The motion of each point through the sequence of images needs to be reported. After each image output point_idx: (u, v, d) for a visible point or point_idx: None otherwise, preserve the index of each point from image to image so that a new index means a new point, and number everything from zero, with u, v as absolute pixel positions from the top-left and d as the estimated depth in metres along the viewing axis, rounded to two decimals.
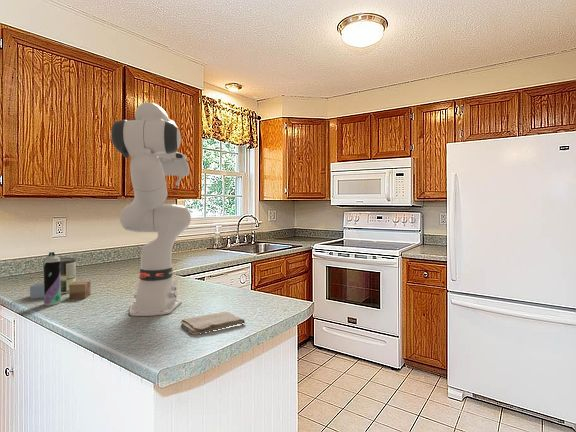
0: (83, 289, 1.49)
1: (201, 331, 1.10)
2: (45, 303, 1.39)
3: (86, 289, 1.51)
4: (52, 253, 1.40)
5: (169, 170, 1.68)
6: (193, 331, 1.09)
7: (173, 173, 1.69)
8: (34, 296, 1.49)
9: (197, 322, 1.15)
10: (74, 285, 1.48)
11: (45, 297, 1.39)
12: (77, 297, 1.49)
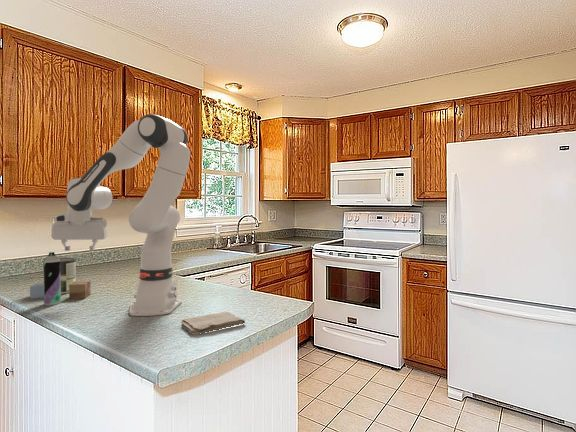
0: (83, 289, 1.49)
1: (201, 331, 1.10)
2: (45, 303, 1.39)
3: (86, 289, 1.51)
4: (52, 253, 1.40)
5: None
6: (193, 331, 1.09)
7: None
8: (34, 296, 1.49)
9: (197, 322, 1.15)
10: (74, 285, 1.48)
11: (45, 297, 1.39)
12: (77, 297, 1.49)
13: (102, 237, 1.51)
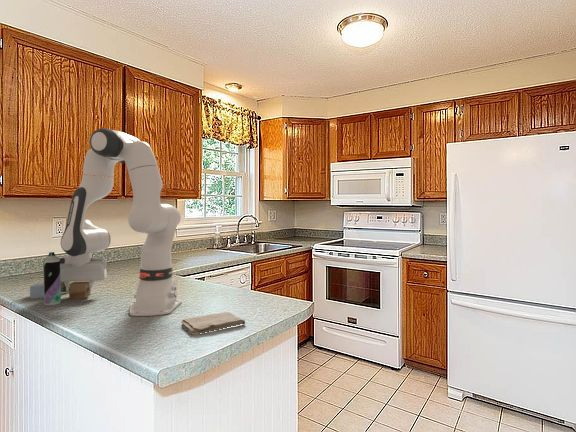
0: (83, 289, 1.49)
1: (201, 331, 1.10)
2: (45, 303, 1.39)
3: (86, 289, 1.51)
4: (52, 253, 1.40)
5: None
6: (192, 331, 1.09)
7: None
8: (34, 296, 1.49)
9: (197, 322, 1.15)
10: (74, 285, 1.48)
11: (45, 297, 1.39)
12: (77, 297, 1.49)
13: (102, 278, 1.51)
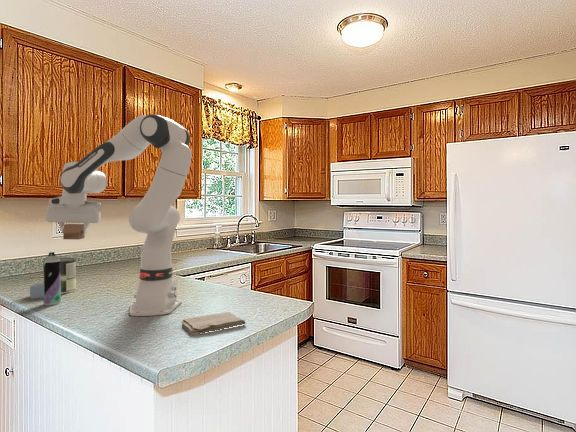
0: (77, 230, 1.50)
1: (200, 331, 1.10)
2: (45, 303, 1.39)
3: (80, 231, 1.52)
4: (52, 253, 1.40)
5: None
6: (192, 331, 1.09)
7: None
8: (34, 296, 1.49)
9: (197, 322, 1.15)
10: (68, 225, 1.50)
11: (45, 297, 1.39)
12: (71, 238, 1.50)
13: (96, 221, 1.53)
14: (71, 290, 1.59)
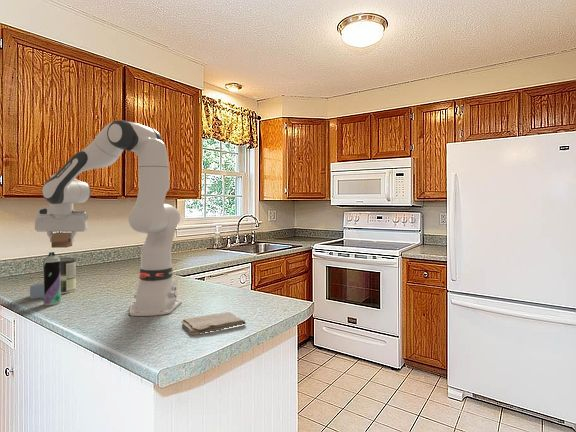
0: (64, 238, 1.57)
1: (200, 331, 1.10)
2: (45, 303, 1.39)
3: (68, 239, 1.59)
4: (52, 253, 1.40)
5: None
6: (192, 331, 1.09)
7: None
8: (34, 296, 1.49)
9: (197, 322, 1.15)
10: (56, 234, 1.56)
11: (45, 297, 1.39)
12: (59, 246, 1.57)
13: (83, 229, 1.59)
14: (71, 290, 1.59)
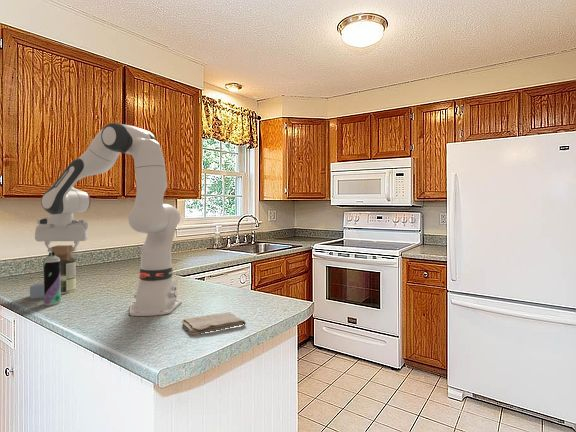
0: (65, 251, 1.57)
1: (200, 331, 1.10)
2: (45, 303, 1.39)
3: (68, 252, 1.59)
4: (52, 253, 1.40)
5: None
6: (192, 331, 1.09)
7: None
8: (34, 296, 1.49)
9: (197, 322, 1.14)
10: (56, 247, 1.57)
11: (45, 297, 1.39)
12: None
13: (83, 239, 1.60)
14: (71, 290, 1.59)
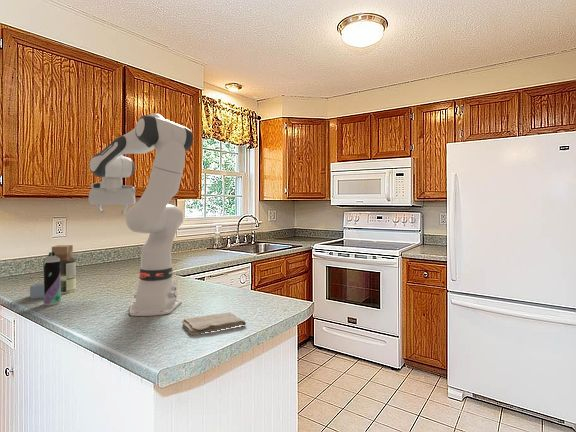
0: (65, 251, 1.57)
1: (200, 331, 1.10)
2: (45, 303, 1.39)
3: (68, 252, 1.59)
4: (52, 253, 1.40)
5: None
6: (192, 331, 1.09)
7: None
8: (34, 296, 1.49)
9: (197, 322, 1.14)
10: (56, 247, 1.57)
11: (45, 297, 1.39)
12: None
13: (132, 202, 1.73)
14: (71, 290, 1.59)
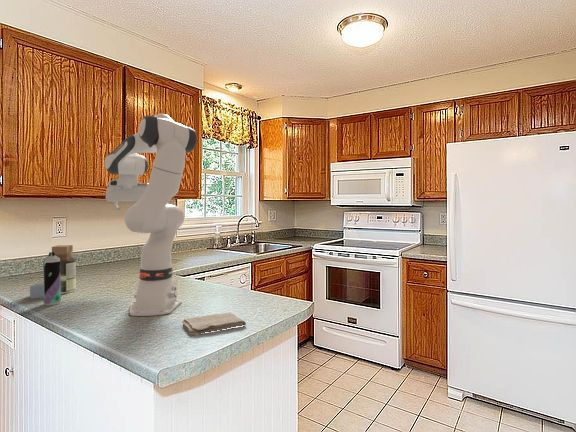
0: (65, 251, 1.57)
1: (199, 332, 1.10)
2: (45, 303, 1.39)
3: (68, 252, 1.59)
4: (52, 253, 1.40)
5: None
6: (191, 331, 1.09)
7: None
8: (34, 296, 1.49)
9: (197, 322, 1.14)
10: (56, 247, 1.57)
11: (45, 297, 1.39)
12: None
13: None
14: (71, 290, 1.59)
